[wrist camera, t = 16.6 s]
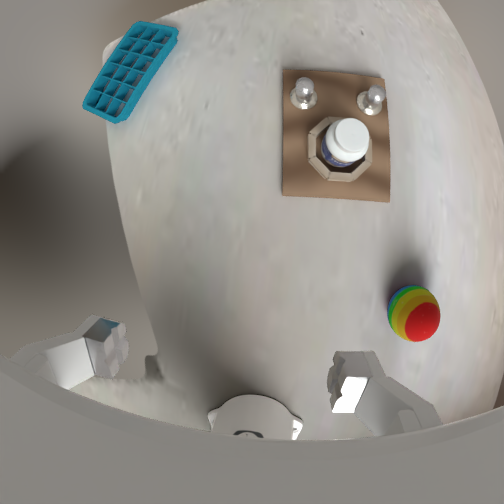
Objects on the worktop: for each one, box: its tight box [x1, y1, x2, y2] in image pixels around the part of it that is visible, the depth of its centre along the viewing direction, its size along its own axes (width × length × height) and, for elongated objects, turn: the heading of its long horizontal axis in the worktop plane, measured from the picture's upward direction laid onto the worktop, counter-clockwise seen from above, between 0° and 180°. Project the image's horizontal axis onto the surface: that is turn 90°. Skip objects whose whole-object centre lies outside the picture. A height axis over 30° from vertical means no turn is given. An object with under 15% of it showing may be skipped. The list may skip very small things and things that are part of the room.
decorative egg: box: [387, 285, 440, 342], centre depth 35 cm, size 8×8×10 cm
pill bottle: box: [321, 118, 369, 167], centre depth 32 cm, size 5×5×10 cm
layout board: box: [282, 70, 390, 202], centre depth 36 cm, size 20×16×3 cm
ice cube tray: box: [82, 21, 179, 124], centre depth 39 cm, size 12×20×3 cm, turn 150°
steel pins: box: [290, 77, 386, 116], centre depth 33 cm, size 4×14×5 cm, turn 89°
